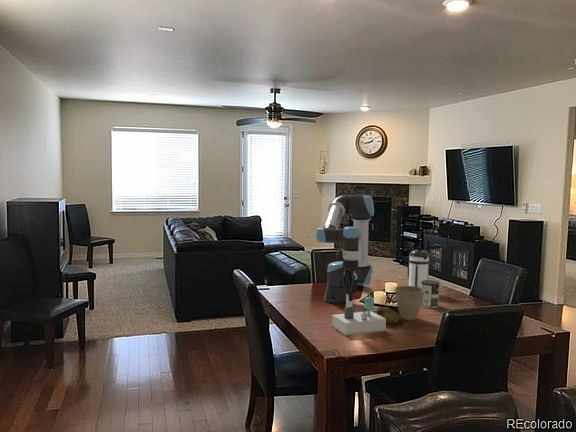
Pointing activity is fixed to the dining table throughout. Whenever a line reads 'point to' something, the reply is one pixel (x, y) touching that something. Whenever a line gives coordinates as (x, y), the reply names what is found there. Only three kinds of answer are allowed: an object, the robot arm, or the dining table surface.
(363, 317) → the trim pot
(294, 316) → the dining table surface
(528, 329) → the dining table surface
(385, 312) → the potato
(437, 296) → the coffee can
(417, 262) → the coffee press
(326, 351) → the dining table surface
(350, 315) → the knob charcoal
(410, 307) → the plant pot
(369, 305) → the knob teal
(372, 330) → the panel
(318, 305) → the dining table surface
